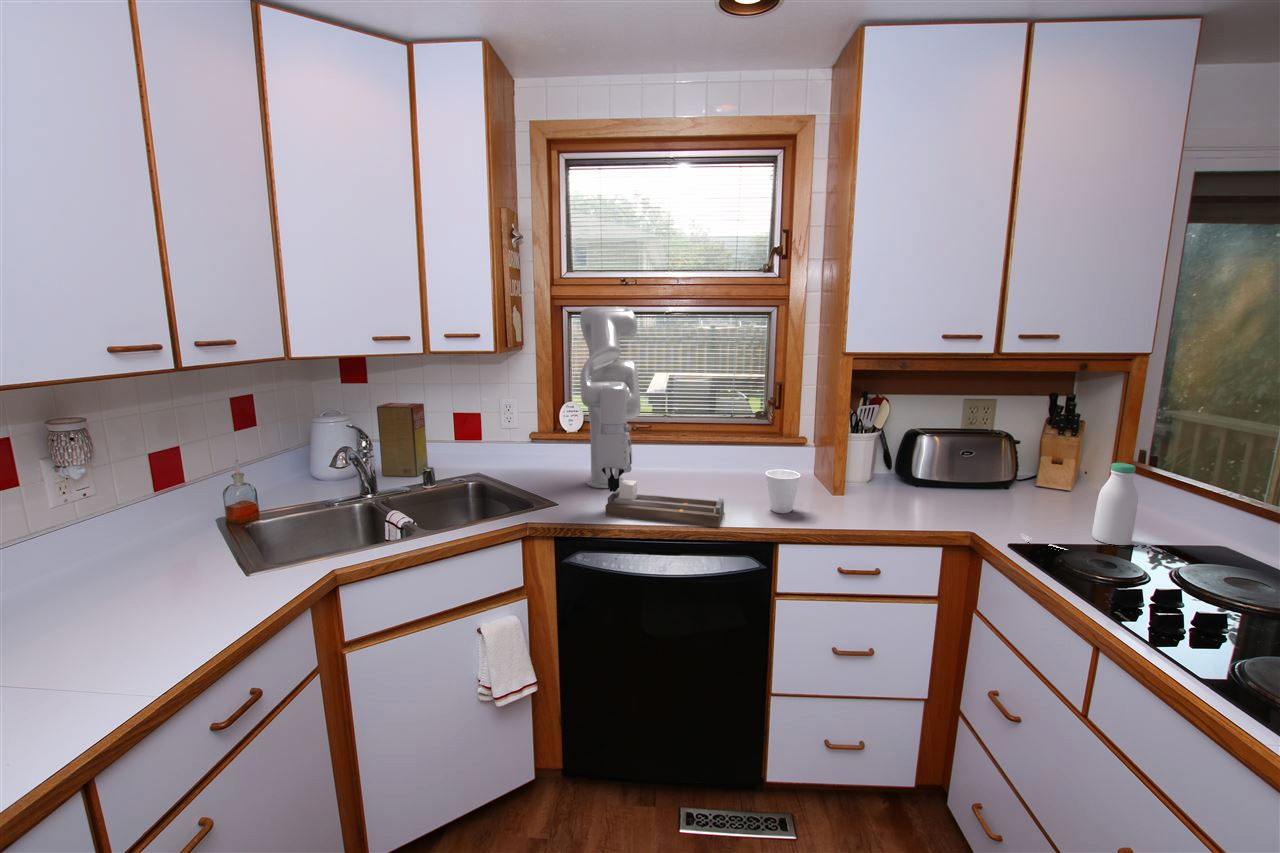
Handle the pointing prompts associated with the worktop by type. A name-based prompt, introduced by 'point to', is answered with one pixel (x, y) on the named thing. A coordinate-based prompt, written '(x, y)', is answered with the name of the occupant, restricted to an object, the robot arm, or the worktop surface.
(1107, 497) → the milk bottle
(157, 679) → the worktop surface
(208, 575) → the worktop surface
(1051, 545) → the fork
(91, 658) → the worktop surface
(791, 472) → the cup
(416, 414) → the food packaging
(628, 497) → the fader tab
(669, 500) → the fader console
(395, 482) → the worktop surface
